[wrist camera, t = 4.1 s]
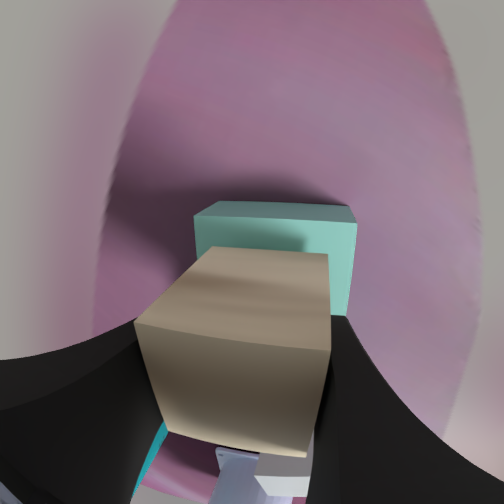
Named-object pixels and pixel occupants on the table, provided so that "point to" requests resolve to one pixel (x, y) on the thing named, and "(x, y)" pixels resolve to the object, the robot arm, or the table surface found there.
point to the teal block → (285, 235)
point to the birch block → (242, 348)
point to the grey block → (285, 473)
